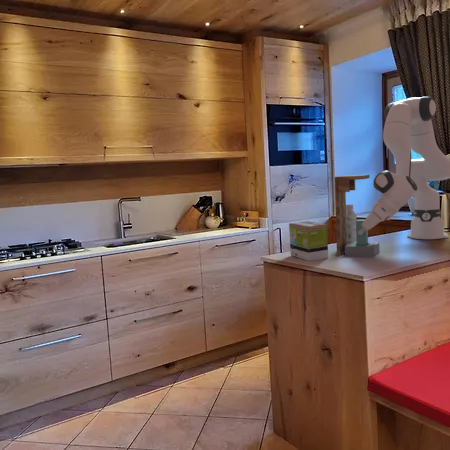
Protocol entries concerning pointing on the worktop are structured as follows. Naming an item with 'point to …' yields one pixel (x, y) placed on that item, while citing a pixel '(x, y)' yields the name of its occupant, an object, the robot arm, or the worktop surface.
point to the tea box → (308, 240)
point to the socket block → (362, 249)
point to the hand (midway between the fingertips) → (360, 233)
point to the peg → (364, 237)
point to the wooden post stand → (343, 207)
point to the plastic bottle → (351, 224)
